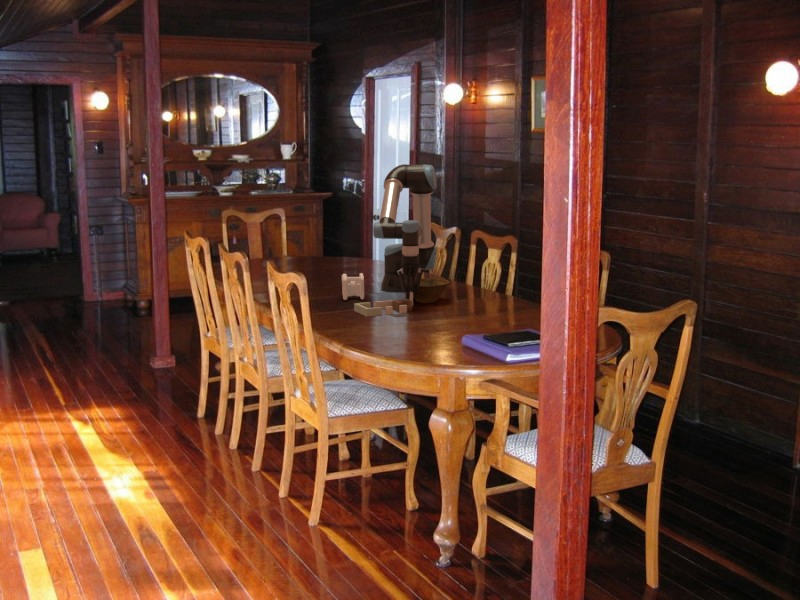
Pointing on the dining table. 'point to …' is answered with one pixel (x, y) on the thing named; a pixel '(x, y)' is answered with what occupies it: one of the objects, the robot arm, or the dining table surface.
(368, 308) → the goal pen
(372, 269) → the dining table surface
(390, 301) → the channel
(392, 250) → the robot arm
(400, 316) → the mat
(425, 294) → the bowl
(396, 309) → the block
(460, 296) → the dining table surface
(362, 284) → the cable organizer
